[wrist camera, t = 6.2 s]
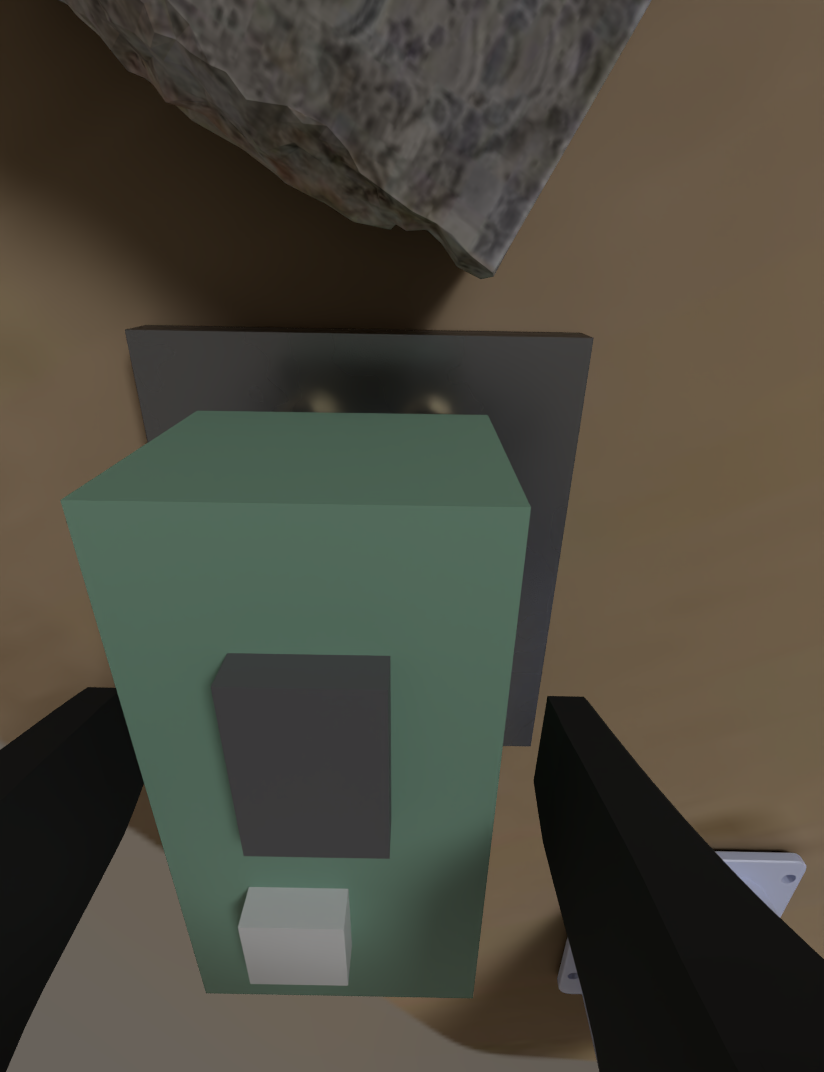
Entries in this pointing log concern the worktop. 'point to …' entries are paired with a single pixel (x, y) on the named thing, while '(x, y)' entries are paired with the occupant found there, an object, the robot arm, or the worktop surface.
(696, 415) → the worktop surface
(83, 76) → the worktop surface
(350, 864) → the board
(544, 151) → the geological specimen
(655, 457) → the worktop surface
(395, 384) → the plate
